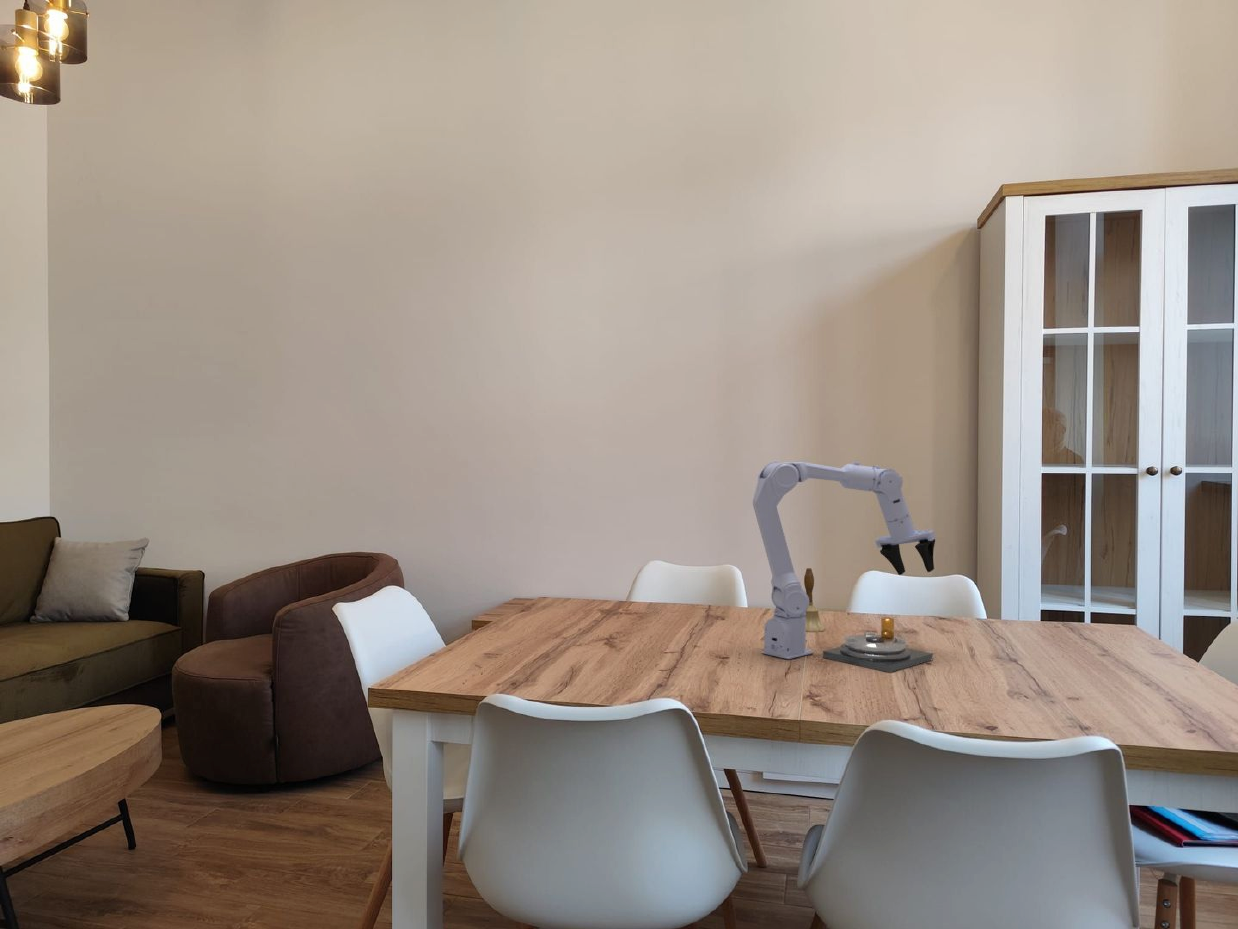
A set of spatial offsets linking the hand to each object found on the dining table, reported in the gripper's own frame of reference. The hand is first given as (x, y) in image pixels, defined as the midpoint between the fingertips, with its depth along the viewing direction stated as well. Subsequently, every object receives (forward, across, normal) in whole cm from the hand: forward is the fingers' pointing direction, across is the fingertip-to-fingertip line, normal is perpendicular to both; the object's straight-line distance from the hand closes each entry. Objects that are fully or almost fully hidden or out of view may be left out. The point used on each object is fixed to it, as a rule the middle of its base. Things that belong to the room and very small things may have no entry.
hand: (916, 572), depth 198 cm
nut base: (+13, +4, +20) cm, 24 cm away
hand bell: (+12, +34, +3) cm, 36 cm away
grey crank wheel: (+10, +4, +19) cm, 22 cm away
